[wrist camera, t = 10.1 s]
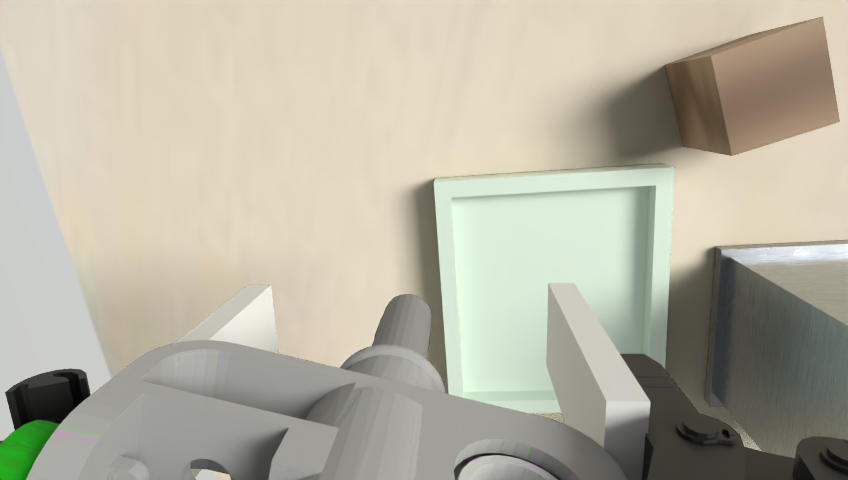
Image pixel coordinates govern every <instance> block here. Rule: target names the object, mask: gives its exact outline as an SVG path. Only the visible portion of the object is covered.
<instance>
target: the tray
mask: <svg viewBox="0 0 848 480" xmlns="http://www.w3.org/2000/svg"><path fill="white" fill-rule="evenodd" d="M674 172H675V167H673V166H670V165H666V164H663V163H658V164H642V165H627V166H611V167H596V168H580V169H564V170H549V171H533V172H518V173H502V174H487V175H471V176H455V177H440V178H435V180H434V195H435V209H436V223H437V237H438V251H439V265H440V279H441V293H442V307H443V321H444V335H445V349H446V364H447V378H448V392H449V394H450V395H454V396H458V397H462V398H467V399H471V400H475V401H479V402H483V403H487V404H492V405H496V406H500V407H504V408H508V409H513V410H517V411H521V412H525V413H561V409H560V406H559V403H558V400H557V397H556V394H555V391H554V388H553V385H552V382H551V378H550V375H549V372H548V369H547V366H546V355H547V315H548V283H574V284H575V285H576V287H577V288H578V290H579V291H580V293H581V295H582V296H583V298H584V299H585V301H586V302H587V304H588V305H589V307H590V309H591V310H592V312H593V313H594V315H595V316H596V318H597V319H598V321H599V323H600V324H601V326H602V327H603V329H604V330H605V332H606V333H607V335H608V337H609V338H610V340H611V341H612V343H613V344H614V346H615V347H616V349H617V350H618V352H619V354H645V355H647V356H648V357H650V358H652V359H653V360H655V361H657V362H658V363H660V364H661V365H662V366H663V368H664V369H665V361H666V340H667V319H668V298H669V277H670V256H671V235H672V214H673V193H674Z"/></svg>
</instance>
